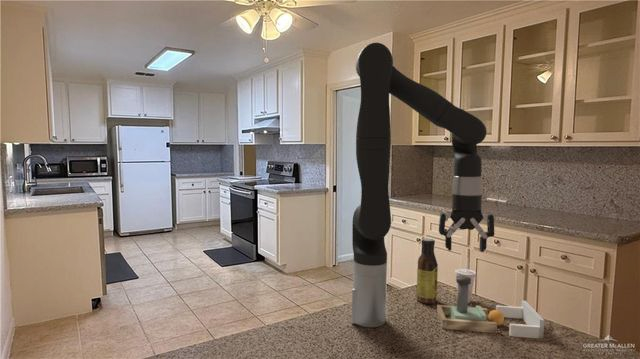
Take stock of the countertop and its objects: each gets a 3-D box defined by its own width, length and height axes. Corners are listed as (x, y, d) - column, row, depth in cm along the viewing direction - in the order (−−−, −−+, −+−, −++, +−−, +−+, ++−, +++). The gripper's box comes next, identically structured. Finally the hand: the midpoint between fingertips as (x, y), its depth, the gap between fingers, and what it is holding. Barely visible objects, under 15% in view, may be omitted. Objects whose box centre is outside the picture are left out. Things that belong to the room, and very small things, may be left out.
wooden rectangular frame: (442, 328, 107) (442, 319, 106) (436, 312, 117) (437, 304, 117) (496, 332, 105) (497, 324, 104) (486, 316, 115) (486, 308, 115)
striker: (454, 326, 108) (456, 281, 107) (450, 315, 115) (452, 273, 113) (485, 328, 107) (488, 283, 106) (479, 317, 113) (481, 275, 112)
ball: (490, 327, 108) (491, 313, 108) (486, 320, 112) (487, 307, 111) (505, 328, 107) (506, 314, 107) (501, 321, 111) (501, 308, 111)
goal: (510, 336, 103) (511, 317, 102) (495, 315, 116) (496, 298, 115) (542, 338, 102) (544, 320, 101) (524, 317, 115) (525, 300, 114)
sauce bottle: (439, 304, 123) (441, 242, 121) (419, 304, 123) (421, 242, 121) (433, 296, 129) (435, 237, 127) (414, 296, 129) (416, 237, 127)
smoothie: (476, 305, 122) (478, 261, 121) (454, 303, 124) (456, 260, 122) (472, 298, 129) (474, 256, 127) (452, 296, 130) (454, 254, 129)
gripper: (441, 193, 105) (440, 253, 106) (498, 194, 102) (496, 255, 104) (438, 190, 112) (437, 246, 114) (491, 191, 110) (489, 248, 111)
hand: (465, 250), depth 109 cm, fingers open, 8 cm apart
